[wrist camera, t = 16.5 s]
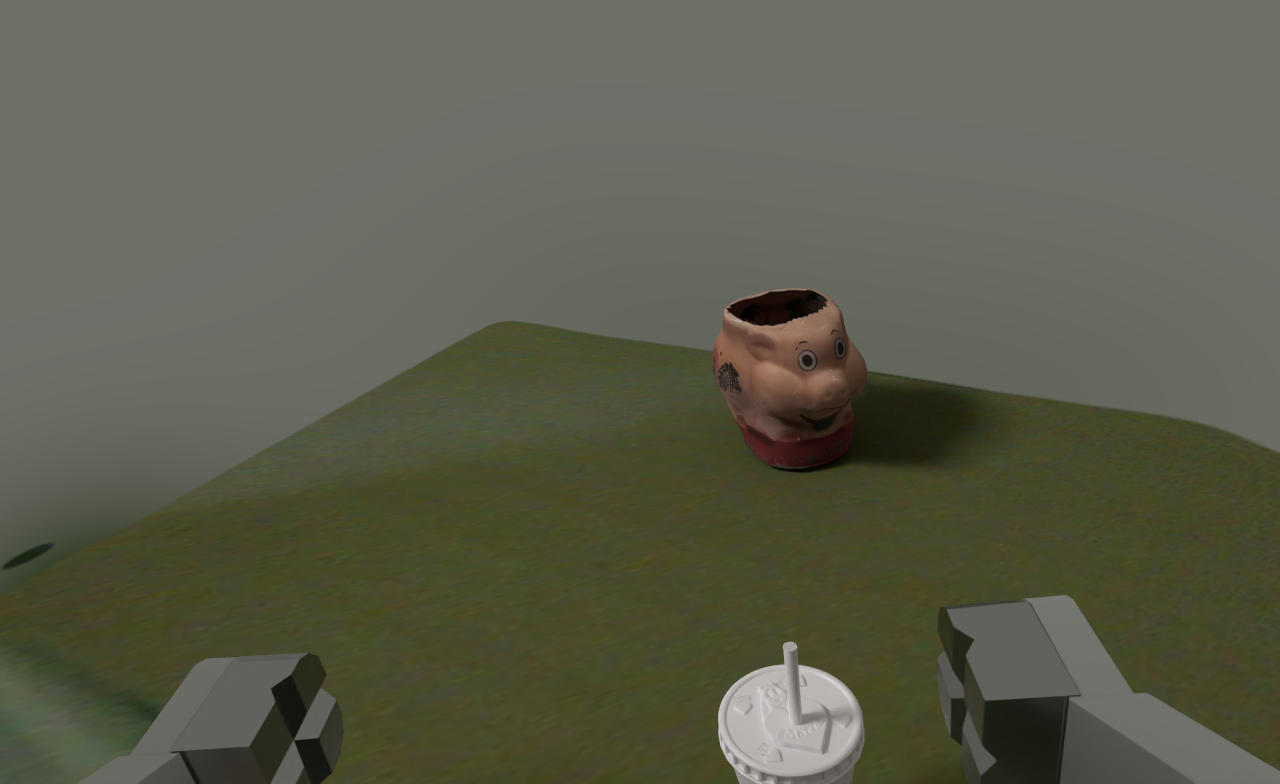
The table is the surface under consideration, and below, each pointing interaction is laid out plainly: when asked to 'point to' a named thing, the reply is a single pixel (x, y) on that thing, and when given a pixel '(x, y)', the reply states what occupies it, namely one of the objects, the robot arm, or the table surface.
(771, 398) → the cartoon character mug
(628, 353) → the table surface
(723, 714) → the smoothie
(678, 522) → the table surface
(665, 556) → the table surface
